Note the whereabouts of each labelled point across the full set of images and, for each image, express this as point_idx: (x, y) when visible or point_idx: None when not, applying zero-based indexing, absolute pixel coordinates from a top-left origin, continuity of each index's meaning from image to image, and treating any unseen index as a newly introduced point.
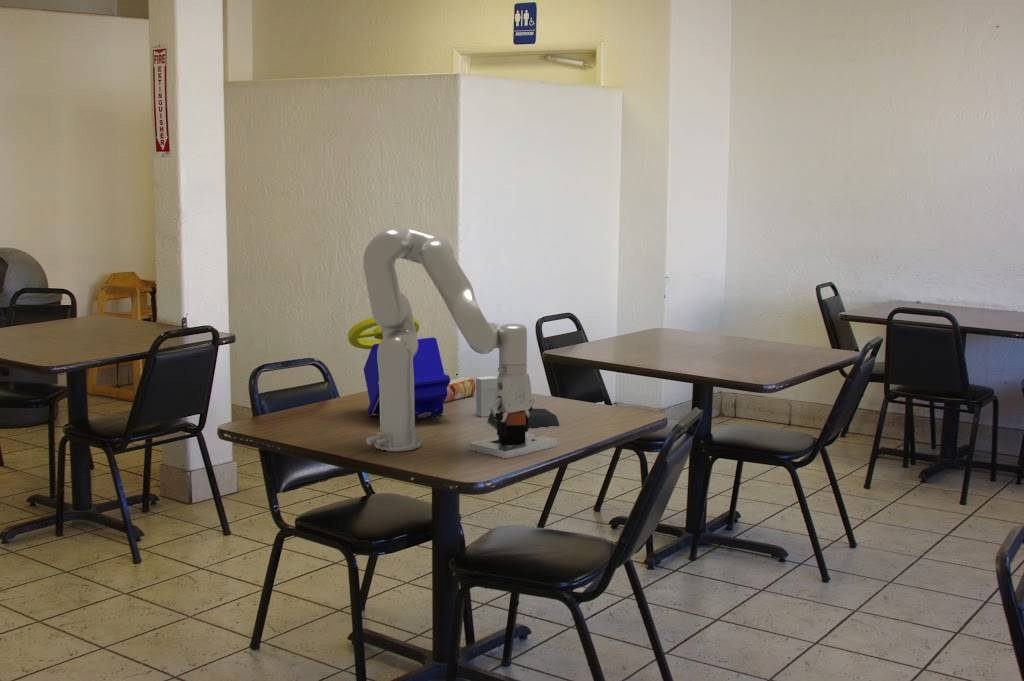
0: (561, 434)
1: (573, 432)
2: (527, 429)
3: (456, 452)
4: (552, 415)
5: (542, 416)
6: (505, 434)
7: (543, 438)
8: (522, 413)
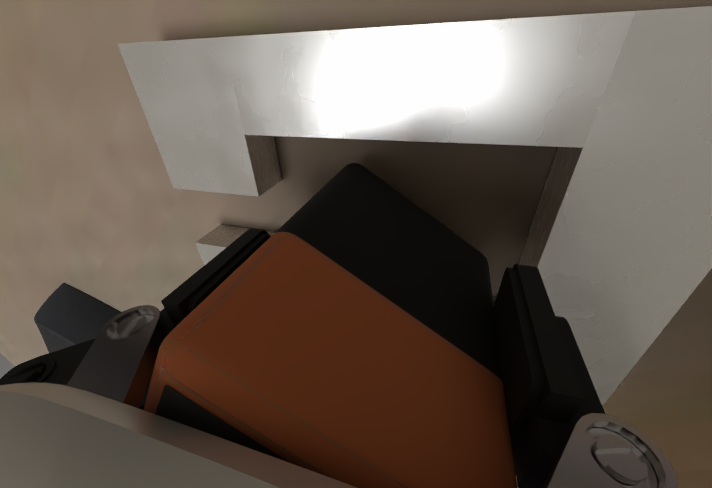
0: (78, 212)
1: (28, 196)
2: (250, 234)
3: (681, 393)
4: (44, 323)
5: (78, 341)
6: (537, 274)
7: (191, 138)
8: (219, 370)
